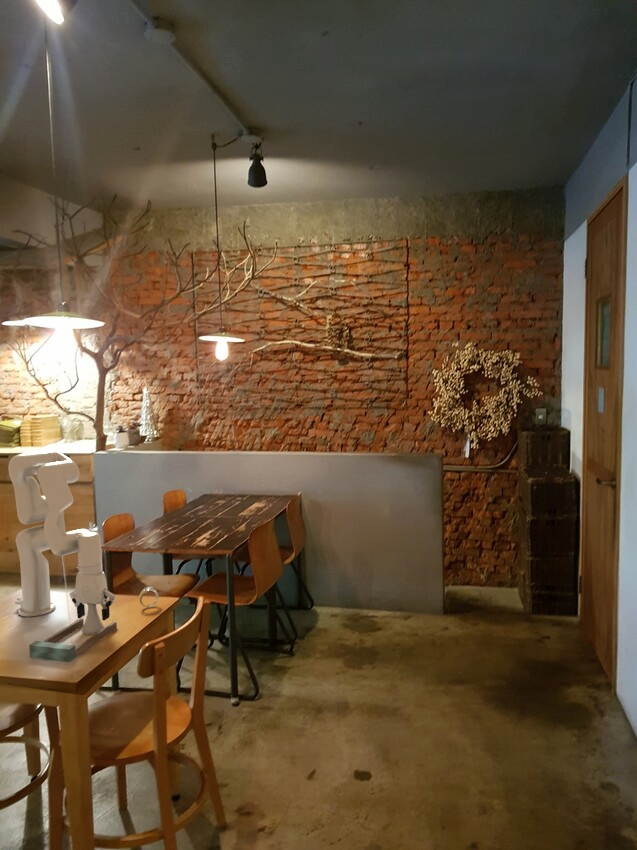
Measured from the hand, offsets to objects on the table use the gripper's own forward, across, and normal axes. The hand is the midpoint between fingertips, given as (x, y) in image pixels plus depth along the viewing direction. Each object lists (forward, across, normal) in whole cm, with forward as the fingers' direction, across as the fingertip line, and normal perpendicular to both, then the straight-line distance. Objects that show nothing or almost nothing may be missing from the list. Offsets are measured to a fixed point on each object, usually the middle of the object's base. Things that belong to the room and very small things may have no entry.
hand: (93, 617), depth 205 cm
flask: (+5, 0, 0) cm, 5 cm away
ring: (+5, +8, +23) cm, 25 cm away
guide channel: (+5, 0, -9) cm, 10 cm away
